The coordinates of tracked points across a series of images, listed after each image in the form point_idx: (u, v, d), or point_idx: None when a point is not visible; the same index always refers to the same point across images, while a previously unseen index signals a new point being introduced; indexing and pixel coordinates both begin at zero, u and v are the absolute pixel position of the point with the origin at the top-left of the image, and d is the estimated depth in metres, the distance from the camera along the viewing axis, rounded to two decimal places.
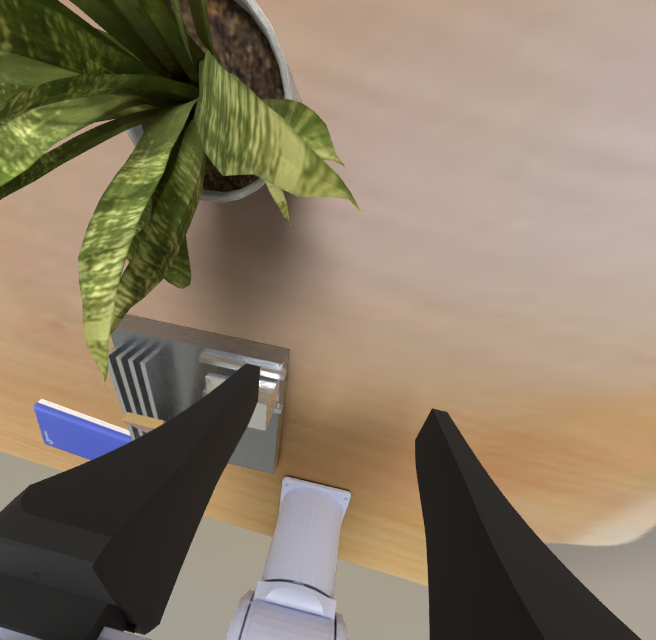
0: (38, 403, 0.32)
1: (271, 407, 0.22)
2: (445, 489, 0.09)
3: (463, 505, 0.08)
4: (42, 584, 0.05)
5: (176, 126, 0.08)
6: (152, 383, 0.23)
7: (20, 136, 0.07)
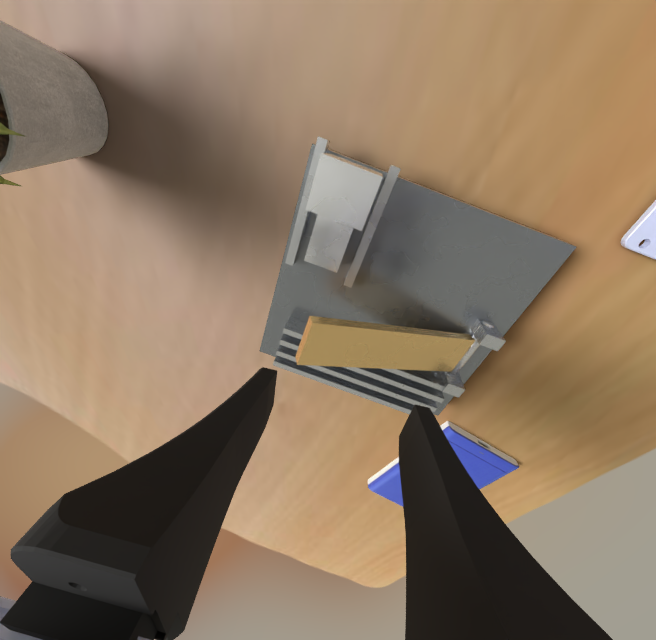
0: (369, 484, 0.31)
1: (358, 166, 0.13)
2: (424, 484, 0.09)
3: (438, 499, 0.08)
4: (76, 594, 0.05)
5: None
6: None
7: None
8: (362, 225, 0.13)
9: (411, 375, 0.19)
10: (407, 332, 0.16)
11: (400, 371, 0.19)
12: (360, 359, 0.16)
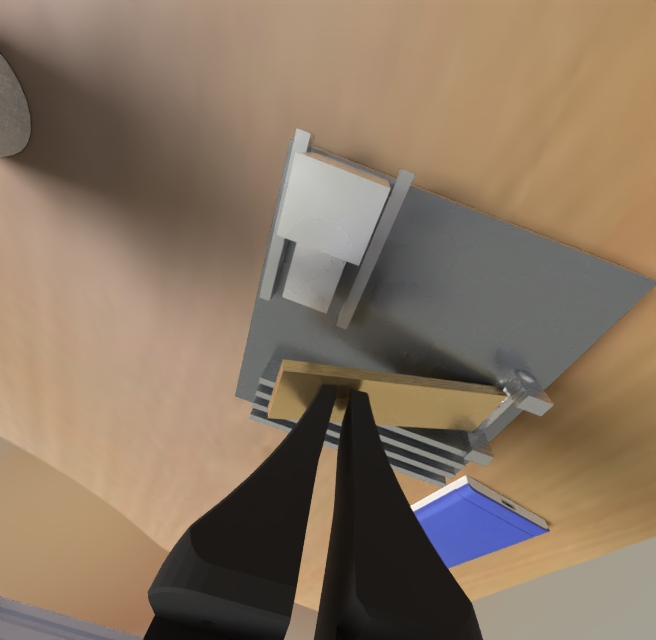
0: None
1: (354, 170, 0.09)
2: (346, 464, 0.09)
3: (350, 476, 0.08)
4: (201, 629, 0.05)
5: None
6: None
7: None
8: (359, 258, 0.09)
9: (424, 437, 0.15)
10: (414, 385, 0.12)
11: (409, 432, 0.15)
12: None
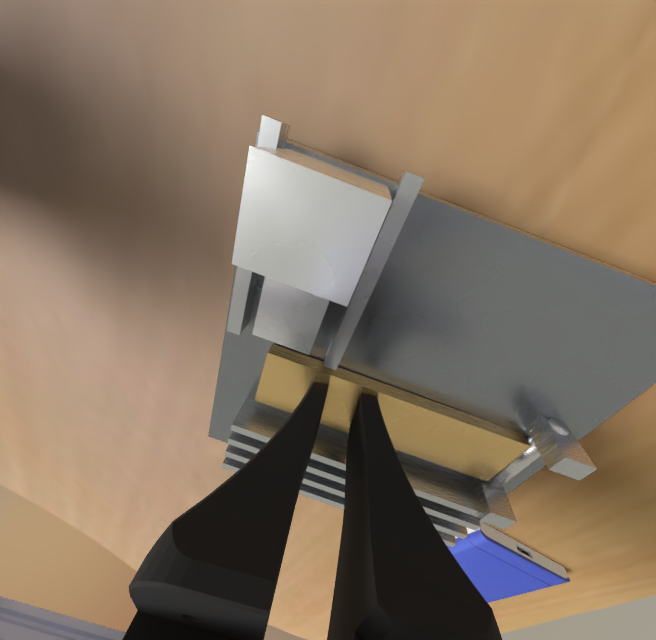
0: None
1: (340, 174, 0.06)
2: (357, 467, 0.09)
3: (362, 479, 0.08)
4: (183, 624, 0.05)
5: None
6: None
7: None
8: (348, 296, 0.06)
9: (431, 495, 0.12)
10: (406, 401, 0.11)
11: (414, 489, 0.12)
12: (337, 418, 0.12)
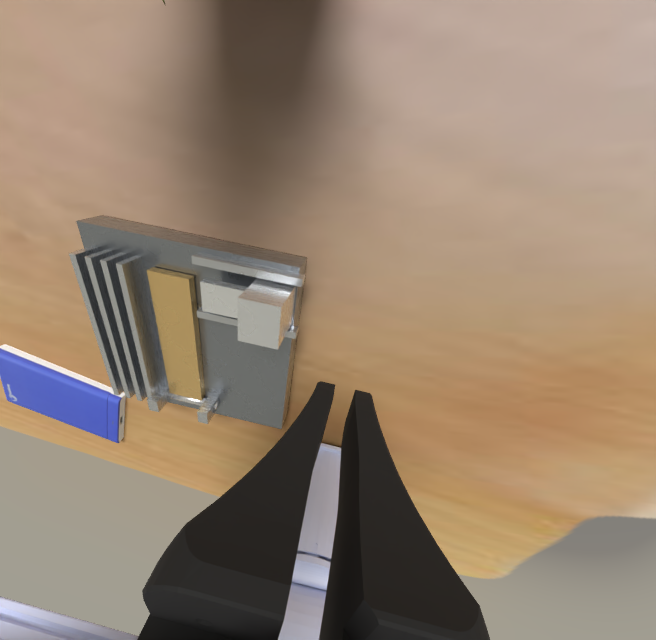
0: None
1: (285, 321, 0.17)
2: (350, 465, 0.09)
3: (355, 477, 0.08)
4: (196, 628, 0.05)
5: None
6: (133, 297, 0.18)
7: None
8: (241, 340, 0.16)
9: (146, 377, 0.22)
10: (196, 350, 0.21)
11: (144, 369, 0.21)
12: (164, 320, 0.20)
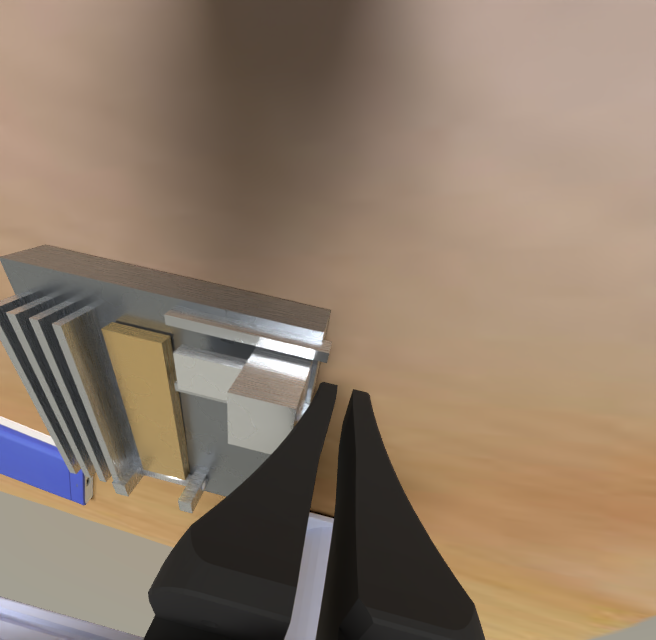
0: None
1: (299, 413, 0.11)
2: (347, 464, 0.09)
3: (352, 476, 0.08)
4: (201, 629, 0.05)
5: None
6: (83, 365, 0.13)
7: None
8: (234, 444, 0.11)
9: (109, 457, 0.16)
10: (176, 426, 0.15)
11: (106, 449, 0.16)
12: (130, 390, 0.14)
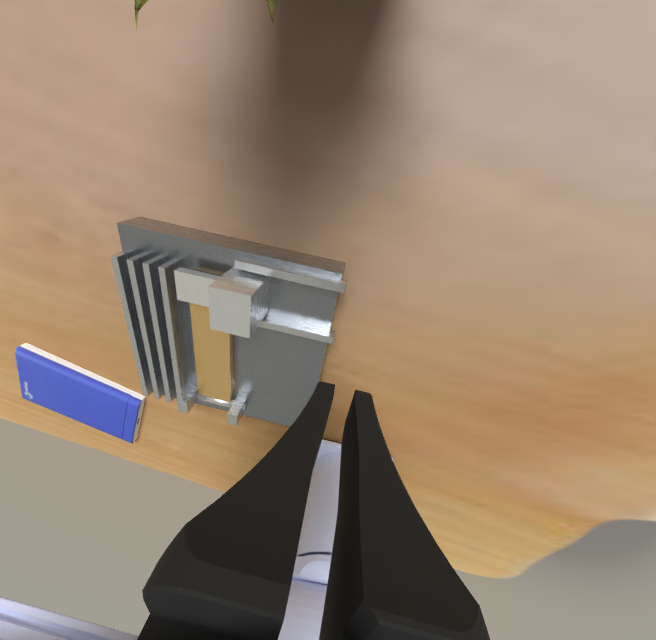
0: (21, 347, 0.27)
1: (258, 311, 0.17)
2: (350, 465, 0.09)
3: (355, 477, 0.08)
4: (195, 628, 0.05)
5: None
6: (171, 300, 0.18)
7: None
8: (214, 329, 0.17)
9: (178, 378, 0.22)
10: (230, 352, 0.21)
11: (177, 370, 0.21)
12: (199, 322, 0.20)
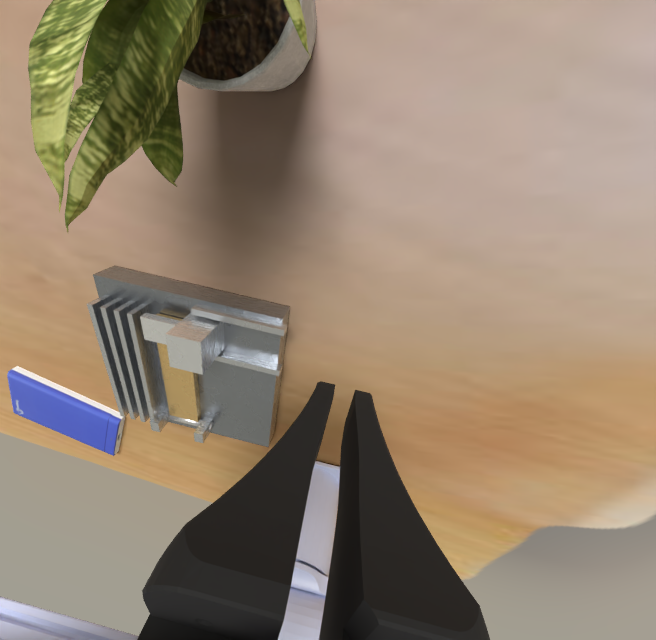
0: (12, 370, 0.30)
1: (211, 350, 0.20)
2: (350, 465, 0.09)
3: (355, 477, 0.08)
4: (196, 628, 0.05)
5: None
6: (140, 339, 0.21)
7: None
8: (173, 366, 0.20)
9: (150, 402, 0.25)
10: (194, 381, 0.24)
11: (148, 396, 0.24)
12: (166, 356, 0.23)
